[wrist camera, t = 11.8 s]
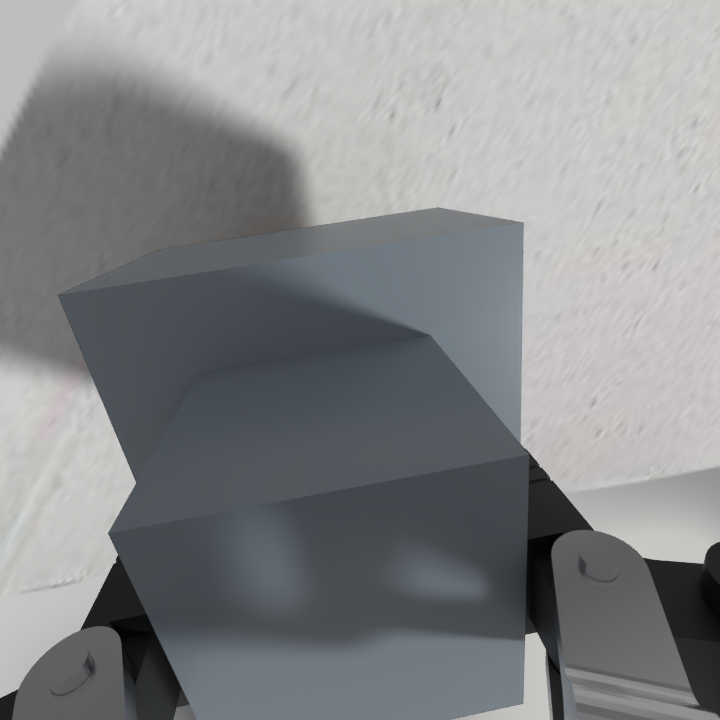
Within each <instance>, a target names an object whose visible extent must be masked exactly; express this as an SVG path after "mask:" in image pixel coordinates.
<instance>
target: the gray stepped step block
mask: <svg viewBox="0 0 720 720" xmlns="http://www.w3.org/2000/svg"><path fill="white" fill-rule="evenodd" d="M523 227H524V223H523V222H517V221H512V220H506V219H500V218H495V217H489V216H483V215H478V214H472V213H466V212H461V211H455V210H449V209H444V208H431V209H425V210H418V211H411V212H405V213H398V214H392V215H385V216H378V217H372V218H365V219H359V220H352V221H345V222H339V223H332V224H326V225H319V226H312V227H306V228H299V229H293V230H286V231H279V232H273V233H266V234H260V235H253V236H246V237H240V238H233V239H226V240H220V241H213V242H207V243H200V244H193V245H187V246H180V247H174V248H167V249H160V250H157V251H155V252H153V253H150V254H148V255H146V256H144V257H141V258H139V259H137V260H135V261H133V262H130V263H128V264H126V265H124V266H121V267H119V268H117V269H115V270H112V271H110V272H108V273H106V274H103V275H101V276H99V277H97V278H94V279H92V280H90V281H88V282H86V283H83V284H81V285H79V286H77V287H74V288H72V289H70V290H68V291H65V292H63V293H61V294H59V295H58V297H59V299H60V301H61V304H62V306H63V309H64V311H65V313H66V316H67V318H68V321H69V323H70V325H71V328H72V330H73V332H74V335H75V337H76V340H77V342H78V344H79V347H80V349H81V352H82V354H83V356H84V359H85V361H86V364H87V366H88V368H89V371H90V373H91V376H92V378H93V380H94V383H95V385H96V387H97V390H98V392H99V395H100V397H101V399H102V402H103V404H104V407H105V409H106V411H107V414H108V416H109V419H110V421H111V423H112V426H113V428H114V431H115V433H116V435H117V438H118V440H119V442H120V445H121V447H122V450H123V452H124V454H125V457H126V459H127V462H128V464H129V466H130V469H131V471H132V474H133V476H134V478H135V481H136V485H135V487H134V488H133V490H132V492H131V494H130V495H129V497H128V499H127V501H126V502H125V504H124V506H123V508H122V510H121V511H120V513H119V515H118V517H117V518H116V520H115V522H114V524H113V525H112V527H111V529H110V531H109V533H108V534H109V536H110V538H111V540H112V543H113V545H114V547H115V549H116V551H117V553H118V555H119V557H120V559H121V561H122V563H123V566H124V568H125V570H126V572H127V574H128V576H129V578H130V580H131V582H132V584H133V587H134V589H135V591H136V593H137V595H138V597H139V599H140V601H141V603H142V605H143V607H144V610H145V612H146V614H147V616H148V618H149V620H150V622H151V624H152V626H153V628H154V631H155V633H156V635H157V637H158V639H159V641H160V643H161V645H162V647H163V649H164V651H165V654H166V656H167V658H168V660H169V662H170V664H171V666H172V668H173V670H174V672H175V675H176V677H177V679H178V681H179V683H180V685H181V687H182V689H183V691H184V693H185V695H186V698H187V700H188V702H189V704H190V706H191V708H192V710H193V712H194V714H195V716H196V719H197V720H451V719H456V718H460V717H465V716H469V715H474V714H478V713H483V712H487V711H492V710H496V709H501V708H506V707H510V706H515V705H519V704H523V695H524V652H525V614H526V573H527V532H528V491H529V454H528V452H527V451H526V450H525V449H524V447H523V446H522V445H521V444H520V435H521V366H522V296H523Z"/></svg>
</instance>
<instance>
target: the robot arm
mask: <svg viewBox="0 0 720 720" xmlns="http://www.w3.org/2000/svg"><path fill="white" fill-rule="evenodd" d="M524 449H525V448H524ZM525 450H526V449H525ZM526 451H527V450H526ZM527 452H528V451H527ZM528 454H529V491H528V532H527V573H526V614H525V635H526V634H531V633H535V632H537V633H538V634H539V637H540V639H541V641H542V642H543V645H544V646H545V648H546V675H547V687H548V699H549V711H550V720H720V542H718V543H716V544H714V545H713V546H711V547H710V548H709V549H708V551H707V553H706V557H705V561H704V564H698V563H686V562H673V561H660V560H652V559H646V558H642V557H641V555H640V554H639V553H638V552H637V551H636V550H635V549H633V548H632V547H631V546H630V545H628V544H627V543H625V542H624V541H622V540H620V539H618V538H616V537H614V536H611V535H609V534H606V533H602V532H598V531H594V530H593V528H592V527H591V526H590V525H589V524H588V522H587V521H586V520H585V519H584V518H583V516H582V515H581V514H580V513H579V512H578V510H577V509H576V508H575V507H574V506H573V504H572V503H571V502H570V501H569V500H568V499H567V497H566V496H565V495H564V494H563V493H562V491H561V490H560V489H559V488H558V487H557V485H556V484H555V483H554V482H553V481H551V480H550V477H549V476H548V475H547V473H546V472H545V471H544V470H543V469H542V468H540V466H539V464H538V463H537V461H536V460H535V459H534V458H533V457H532V455H531V454H530V453H529V452H528ZM185 705H190V704H189V702H188V700H187V698H186V695H185V693H184V691H183V689H182V687H181V685H180V683H179V681H178V679H177V677H176V675H175V672H174V670H173V668H172V666H171V664H170V662H169V660H168V658H167V656H166V654H165V651H164V649H163V647H162V645H161V643H160V641H159V639H158V637H157V635H156V633H155V631H154V628H153V626H152V624H151V622H150V620H149V618H148V616H147V614H146V612H145V610H144V607H143V605H142V603H141V601H140V599H139V597H138V595H137V593H136V591H135V589H134V587H133V584H132V582H131V580H130V578H129V576H128V574H127V572H126V570H125V568H124V566H123V563H122V561H121V559H120V557H119V555H118V556H117V558H116V563H115V564H113V566H112V568H111V570H110V572H109V574H108V576H107V578H106V580H105V582H104V584H103V586H102V588H101V590H100V592H99V594H98V596H97V598H96V600H95V602H94V604H93V606H92V608H91V610H90V612H89V614H88V616H87V618H86V620H85V622H84V624H83V626H82V628H81V630H80V631H79V632H76V633H74V634H72V635H70V636H68V637H66V638H65V639H63V640H62V641H60V642H59V643H57V644H56V645H55V646H53V647H52V648H51V649H50V650H48V651H47V652H46V653H45V654H44V655H43V656H42V657H41V658H40V659H39V660H38V661H37V662H36V663H35V664H34V666H33V667H32V668H31V669H30V671H29V672H28V673H27V675H26V677H25V678H24V680H23V682H22V683H21V685H20V688H19V689H18V690H16V691H14V692H12V693H10V694H8V695H6V696H4V697H2V698H0V720H173V719H174V715H175V710H176V707H180V706H185Z"/></svg>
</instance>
